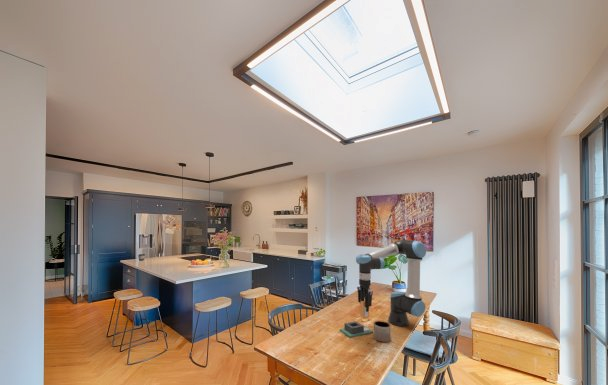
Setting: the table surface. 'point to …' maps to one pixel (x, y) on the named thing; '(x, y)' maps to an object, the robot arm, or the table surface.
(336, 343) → the table surface
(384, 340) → the planter
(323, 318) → the table surface
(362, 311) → the plug
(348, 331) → the board
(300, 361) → the table surface
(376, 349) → the table surface
